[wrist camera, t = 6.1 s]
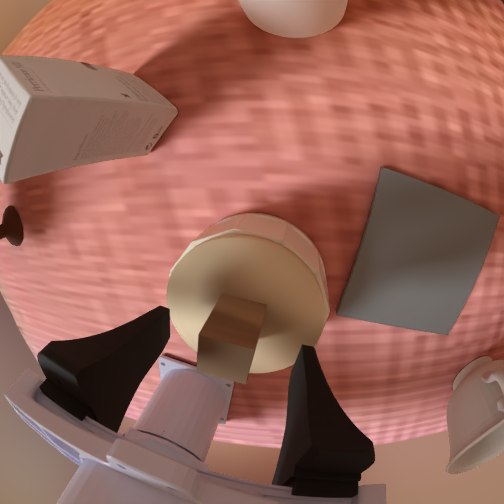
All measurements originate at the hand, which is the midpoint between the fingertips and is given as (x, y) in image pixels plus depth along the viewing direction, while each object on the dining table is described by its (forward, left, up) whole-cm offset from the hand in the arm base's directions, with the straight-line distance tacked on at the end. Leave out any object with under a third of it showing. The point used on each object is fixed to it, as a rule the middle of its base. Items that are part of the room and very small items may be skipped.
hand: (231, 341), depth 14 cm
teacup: (-5, -25, -7) cm, 26 cm away
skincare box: (+11, +11, -7) cm, 17 cm away
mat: (+4, -12, -7) cm, 15 cm away
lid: (0, 0, -3) cm, 3 cm away
